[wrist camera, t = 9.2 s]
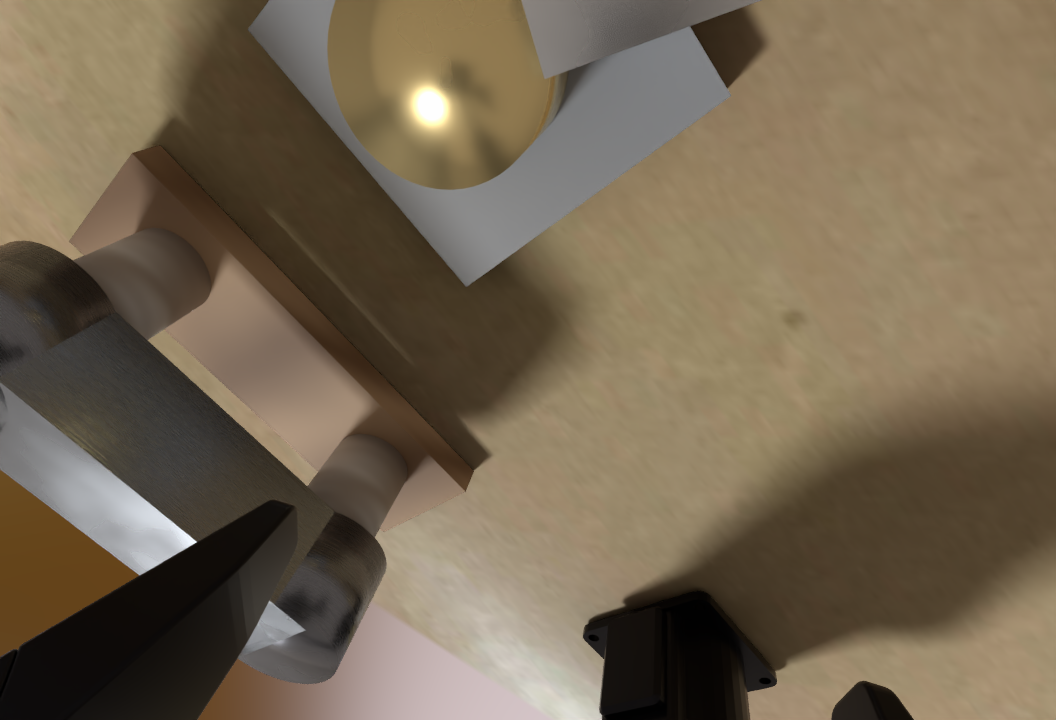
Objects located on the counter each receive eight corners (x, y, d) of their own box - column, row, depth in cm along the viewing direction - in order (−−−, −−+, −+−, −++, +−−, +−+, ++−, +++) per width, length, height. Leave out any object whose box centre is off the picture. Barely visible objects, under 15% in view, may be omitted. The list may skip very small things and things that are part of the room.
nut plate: (727, 89, 15) (730, 95, 14) (476, 272, 19) (466, 287, 18) (508, -277, 12) (494, -301, 11) (272, 27, 17) (247, 29, 16)
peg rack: (473, 471, 24) (430, 574, 20) (394, 511, 26) (340, 612, 22) (160, 145, 19) (11, 187, 15) (96, 230, 22) (-48, 288, 17)
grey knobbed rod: (-29, 289, 17) (-171, 348, 14) (21, 211, 15) (-132, 261, 12) (337, 600, 22) (285, 694, 19) (409, 569, 20) (364, 668, 17)
